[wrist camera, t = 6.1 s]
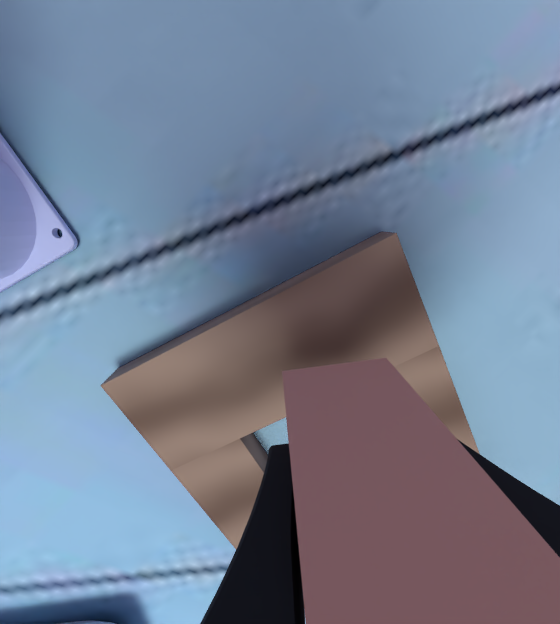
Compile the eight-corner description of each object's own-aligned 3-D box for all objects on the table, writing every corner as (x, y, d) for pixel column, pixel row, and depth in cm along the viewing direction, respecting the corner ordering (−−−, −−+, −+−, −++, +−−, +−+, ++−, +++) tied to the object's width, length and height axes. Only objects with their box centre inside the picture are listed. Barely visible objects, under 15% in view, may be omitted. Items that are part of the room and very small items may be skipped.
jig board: (117, 368, 18) (100, 385, 16) (381, 231, 16) (396, 232, 15) (278, 572, 25) (280, 602, 23) (482, 490, 23) (502, 514, 21)
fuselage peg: (281, 371, 11) (314, 708, 3) (386, 357, 11) (651, 664, 3) (293, 454, 12) (335, 842, 5) (387, 442, 12) (584, 809, 5)
